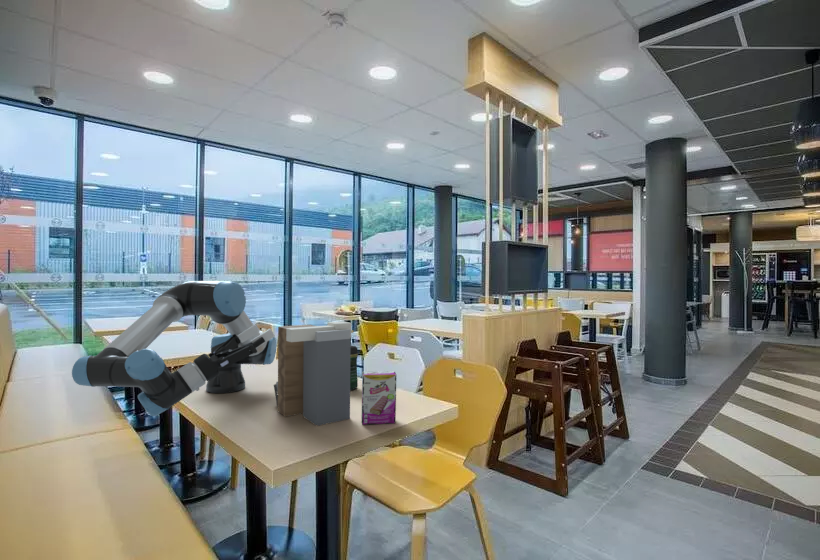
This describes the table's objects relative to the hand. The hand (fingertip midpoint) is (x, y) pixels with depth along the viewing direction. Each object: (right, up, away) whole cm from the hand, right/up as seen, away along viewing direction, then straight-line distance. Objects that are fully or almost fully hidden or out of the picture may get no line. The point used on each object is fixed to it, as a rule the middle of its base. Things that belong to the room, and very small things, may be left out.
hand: (265, 329), depth 132 cm
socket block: (+16, -31, +13) cm, 38 cm away
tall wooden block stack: (+5, -31, +20) cm, 37 cm away
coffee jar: (+18, -31, +51) cm, 62 cm away
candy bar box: (+34, -32, +9) cm, 48 cm away
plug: (+15, -4, +11) cm, 19 cm away
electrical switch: (-1, -31, +28) cm, 42 cm away
